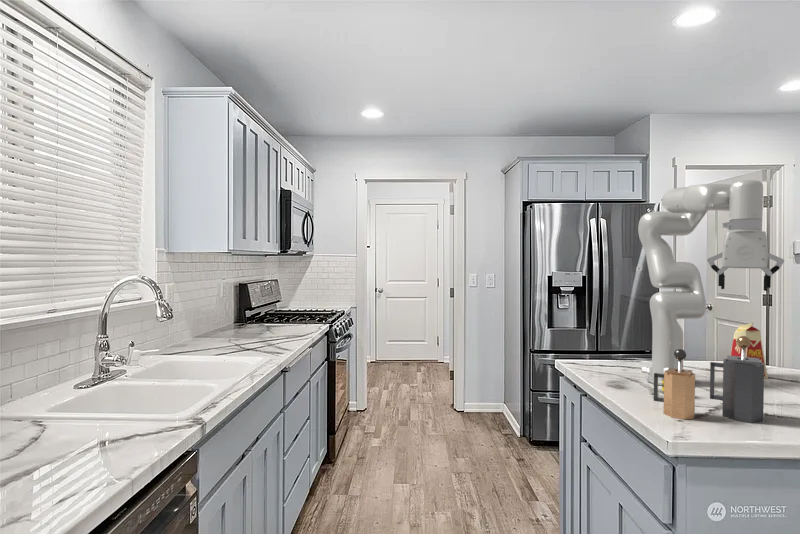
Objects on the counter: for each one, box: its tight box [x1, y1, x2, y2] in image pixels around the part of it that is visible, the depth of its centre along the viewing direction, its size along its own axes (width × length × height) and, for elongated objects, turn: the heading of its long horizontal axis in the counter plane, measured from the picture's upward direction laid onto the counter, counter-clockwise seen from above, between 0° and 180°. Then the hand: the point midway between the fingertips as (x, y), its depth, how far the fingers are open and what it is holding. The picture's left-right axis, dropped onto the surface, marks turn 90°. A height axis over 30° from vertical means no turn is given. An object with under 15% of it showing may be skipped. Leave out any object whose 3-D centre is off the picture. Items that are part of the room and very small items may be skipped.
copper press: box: [653, 368, 696, 420], centre depth 139 cm, size 10×7×12 cm
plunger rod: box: [736, 336, 751, 360], centre depth 137 cm, size 3×3×21 cm
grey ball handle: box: [674, 349, 687, 372], centre depth 138 cm, size 3×3×17 cm
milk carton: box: [730, 322, 769, 380], centre depth 188 cm, size 9×9×20 cm
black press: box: [709, 354, 765, 424], centre depth 138 cm, size 12×9×16 cm
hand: (743, 289), depth 138 cm, fingers open, 9 cm apart
